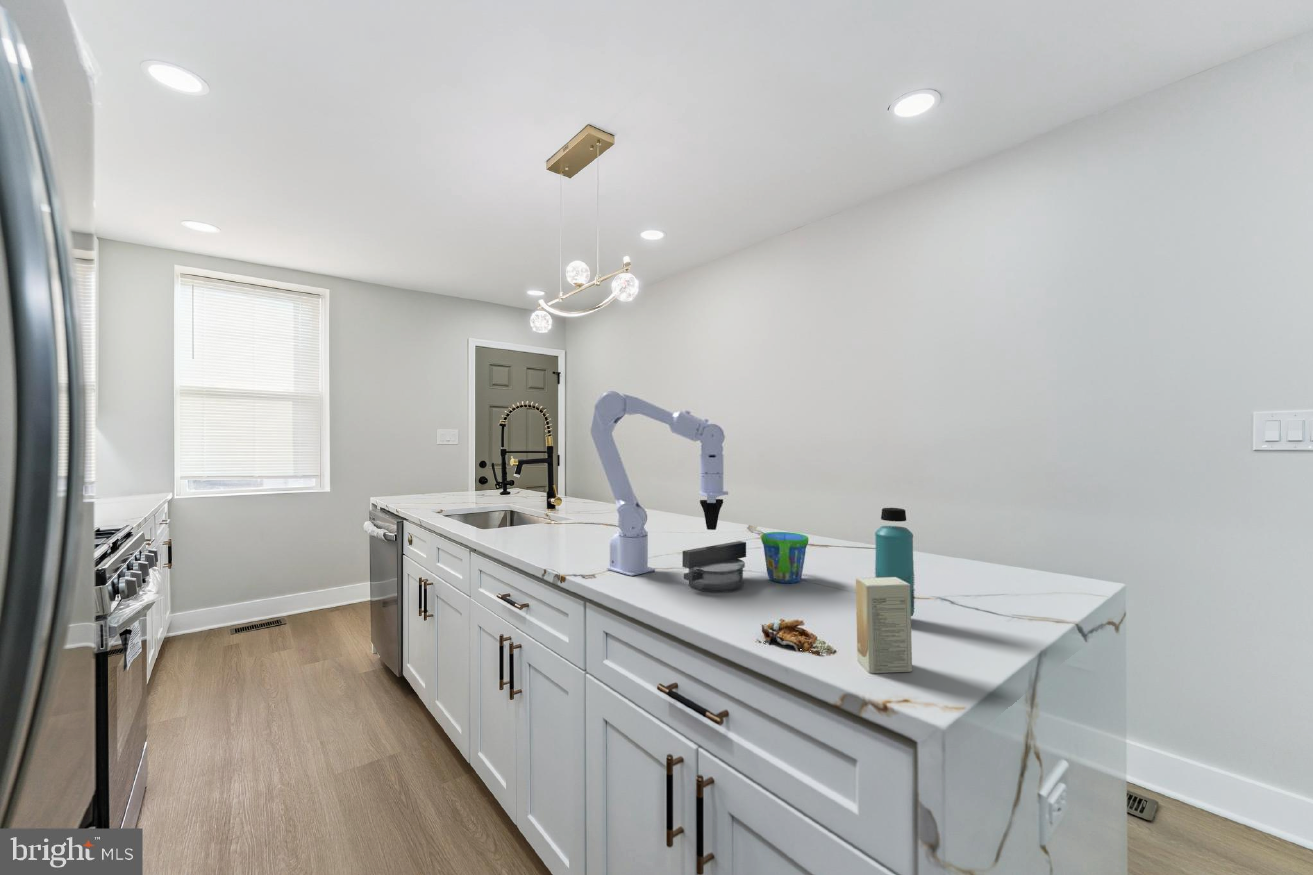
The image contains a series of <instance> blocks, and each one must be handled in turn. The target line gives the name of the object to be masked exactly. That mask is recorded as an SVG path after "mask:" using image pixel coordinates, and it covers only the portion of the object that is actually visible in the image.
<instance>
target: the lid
mask: <svg viewBox="0 0 1313 875" xmlns="http://www.w3.org/2000/svg"><path fill="white" fill-rule="evenodd" d="M746 557H747V542H746V541H742V540H741V541H740V540H737V541H733V542H726V543H721V544H714V545H709V546H703V547H697V548H692V549H686V550H682V563H681V564H682V568H686V569H688V570H689V569H690V568H691V569H694V570H699V571H705V572H733V571H738V570H741V569H743V570H744V568H745V567H744V562H745V561H744V560H743V558H746Z"/></svg>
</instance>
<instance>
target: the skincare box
mask: <svg viewBox="0 0 1313 875" xmlns="http://www.w3.org/2000/svg"><path fill="white" fill-rule="evenodd" d="M855 591H856V592H855V602H856V603H855V604H856V606H855V608H856V650H857V652H856V654H857V656H856V657H857V662H858V663H859V664H860V665H861V666H862V667H863V668H864V670H866V672H868V673H869V674H881V673H884V674H885V673H886V674H887V673H888V674H889V673H906V672H908V673H909V672H913V652H912V650H913V648H912V644H913V643H912V616H911V602H910V584H908V583H906V582H904V581H902V580H901V579H899V578H897V577H879V578H876V577H856V578H855Z"/></svg>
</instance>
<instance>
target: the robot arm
mask: <svg viewBox="0 0 1313 875" xmlns="http://www.w3.org/2000/svg"><path fill="white" fill-rule="evenodd" d="M593 411H594V412H593V417H592V421H591V427H590V435H591V438H592V440H593V443H594V445H595V448H596V452H597V454H598V457H599V460H600V461H601V465H602V468H603V470H604V472H605V476H606V478H607V481H608V484H609V486H610V489H611V492H612V494H613V497H614V500H615V505H616V511H617V515H618V521H617V523H618V528H619V531H618V532H616V533H615V534H613V536H612V537H611V538H610V542H609V566H607V567H606V570H609V571H612V572H616V573H620V574H623V575H627V576H629V577H630V576H631V577H632V576H636V575H640V574H647V573H650V572H655V571H656V568H653V567H650V566H648V565H649V563H648V561H649V560H648V559H649V553H648V552H649V549H648V548H649V546H648V545H649V536H648V535H649V532H648V531H647V530H646V529H645V525H646V523H647V521H648V514H647V511H646V510H645V508H644V507H642V506H641V504H640V503H639V502H640V501H639V500H638V498H637V496H636V494H635V492H634V490H633V488H632V485H631V481H630V480H629V477H628V474H627V472H626V471H627V470H626V469H625V465H624V463H623V460H622V457H621V455H620V452H619V450H618V448H617V444H616V441H615V439H614V437H613V432H614V430H615V428H616V427H617V424H618V423H619V422H620V421H621V420H622V418H624V417H625V415H628V416H634V415H641V416H645V417H647V418H649V419H652V420H654V421H658V422H660V423H663V424H665V425H668V426H669V429H670V431H671V432H672V433H673V434H676V435H677V436H680V437H682V438H685V439H688V440H690V441H693V442H694V443H696V442H698V441H699V442H700V454H699V491H698V495H699V496H701V497H705V498H706V499H700V500H699V505H700V506H701V507H702V511H703V515H704V520H705V526H706V530H708V531H715V530H717V527H718V520H719V516H720V515H719V514H720V513H721V512H720V511H721V508H722V506H723V505H724V499H722V498H718V497H721V496H726V495H727V496H728V495H729V491H728V490H724V454H723V452H724V446H723V443H724V441H725V439H726V438H725V437H726V436H725V433H724V430H723V429H722V427H721V426H719V424H716V423H709V421H710V420H709V419H708V418H704V419H702V418H700V417H697V416H695V415H693V414H692V413H691V411H689V410H685V411H683V410H679V411H676V412H671V411H669V410H666V409H664V408H661V407H659V406H657V405H656V404H653V403H651V402H648V401H647V400H646V401H645V400H644V399H642V398H639V397H636V396H633V395H629V394H625V393H622V394H620V393H619V392H617V391H615V390H608V391H605V392H603V393H602V394H601V395H600V396H599V398H598V400H597V401H596V403H595V404H594V410H593Z"/></svg>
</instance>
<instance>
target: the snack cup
mask: <svg viewBox="0 0 1313 875" xmlns="http://www.w3.org/2000/svg"><path fill="white" fill-rule="evenodd" d="M760 536H761V538H760V539H761V540H760V541H761V544H762V545H763V552H764V559H765V567H766V568H765V569H766V572H767V577H768V579H769V580H770V581H774V582H777V583H779V584H781V583H782V584H792V583H793V584H795V583H797V582H800V581H801V580H802V577H803V570H804V565H805V559H806V553H807V552H806V551H807V546H808V544H809V536H808V535H806V534H803V533H798V532H790V531H789V532H788V531H770V532H765V533H762V534H761V535H760Z"/></svg>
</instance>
